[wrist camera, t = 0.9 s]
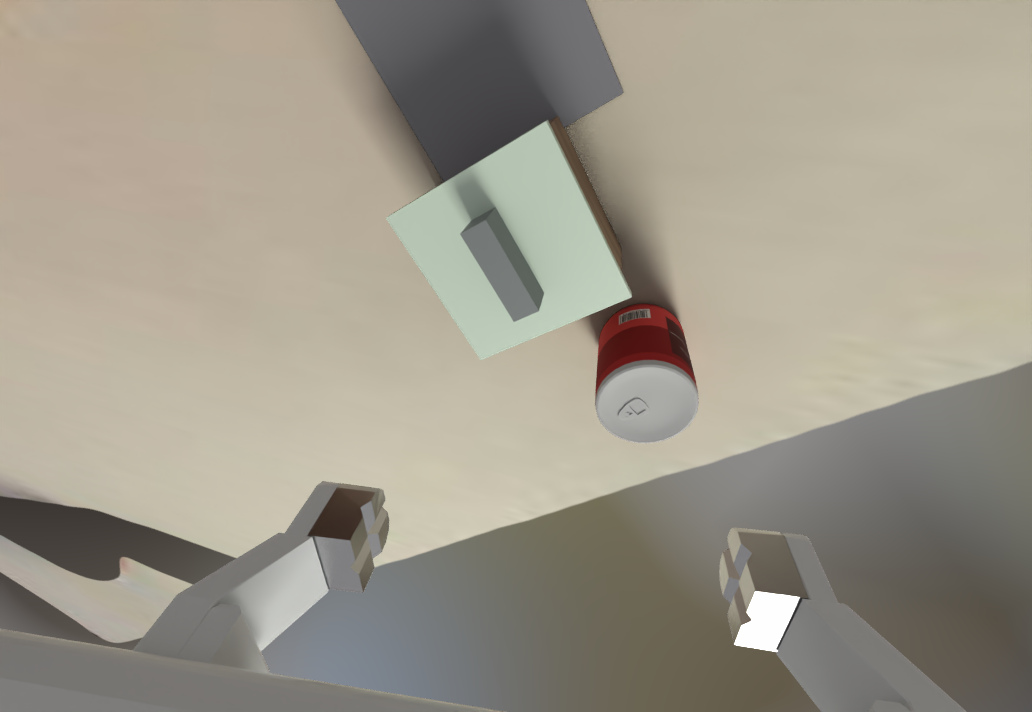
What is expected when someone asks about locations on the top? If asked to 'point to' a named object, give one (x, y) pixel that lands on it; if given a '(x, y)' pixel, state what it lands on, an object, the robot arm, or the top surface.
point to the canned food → (644, 376)
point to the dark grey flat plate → (483, 68)
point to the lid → (512, 245)
